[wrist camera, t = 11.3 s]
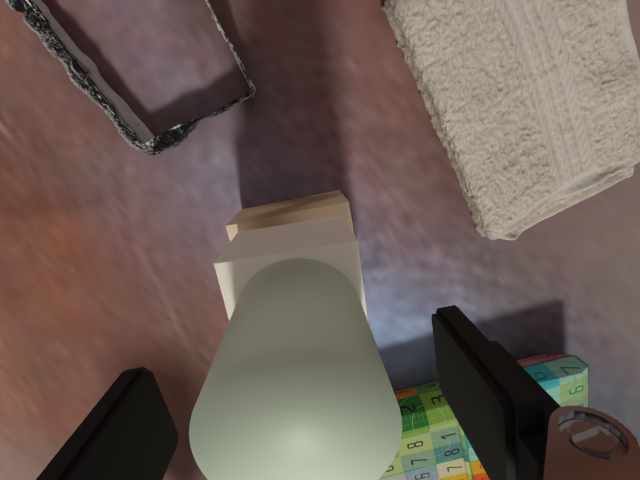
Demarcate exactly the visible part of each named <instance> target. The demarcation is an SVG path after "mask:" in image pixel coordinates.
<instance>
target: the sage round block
mask: <svg viewBox="0 0 640 480" xmlns="http://www.w3.org/2000/svg"><path fill="white" fill-rule="evenodd" d="M401 435H402V417H401V412H400V408H399V405H398V402H397V400H396V397H395V394H394V391H393V389H392V386H391V383H390V381H389V378H388V375H387V372H386V370H385V367H384V364H383V362H382V359H381V356H380V353H379V351H378V348H377V345H376V342H375V340H374V337H373V334H372V332H371V329H370V326H369V323H368V321H367V318H366V315H365V313H364V310H363V307H362V304H361V302H360V299H359V296H358V294H357V291H356V290H355V288H354V286H353V285H352V283H351V282H350V281H349V279H348V278H347V277H346V276H345V275H344V274H343V273H341V272H340V271H339V270H337V269H336V268H334V267H332V266H331V265H329V264H326V263H324V262H321V261H317V260H313V259H306V258H293V259H286V260H282V261H278V262H275V263H273V264H270V265H268V266H267V267H265V268H263V269H262V270H260V271H259V272H257V273H256V274H255V275H254V276H253V277H252V278H251V279H250V280H249V281H248V282H247V284H246V285H245V287H244V288H243V290H242V292H241V294H240V297H239V299H238V301H237V304H236V306H235V309H234V311H233V314H232V316H231V318H230V321H229V323H228V326H227V328H226V331H225V333H224V336H223V338H222V340H221V343H220V345H219V348H218V350H217V353H216V355H215V358H214V360H213V363H212V365H211V367H210V370H209V372H208V375H207V377H206V380H205V382H204V385H203V387H202V389H201V392H200V394H199V397H198V399H197V402H196V404H195V407H194V409H193V411H192V415H191V419H190V425H189V440H190V447H191V450H192V454H193V457H194V459H195V461H196V463H197V465H198V467H199V468H200V470H201V471H202V473H203V474H204V476H205V477H206V478H207V479H208V480H378V479H379V478H380V477H381V476H382V475H383V474H384V473H385V472H386V470H387V469H388V467H389V466H390V464H391V463H392V461H393V460H394V458H395V455H396V453H397V451H398V448H399V445H400V442H401Z"/></svg>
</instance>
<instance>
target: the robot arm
mask: <svg viewBox="0 0 640 480" xmlns="http://www.w3.org/2000/svg"><path fill="white" fill-rule="evenodd" d="M432 326H433V335H434V345H435V354H436V364H437V373H438V382H439V386H440V389H441V392H442V394H443V396H444V397H445V399H446V401H447V403H448V405H449V407H450V408H451V410H452V412H453V414H454V416H455V417H456V419H457V421H458V423H459V425H460V426H461V428H462V430H463V432H464V434H465V436H466V437H467V439H468V441H469V443H470V445H471V446H472V448H473V450H474V452H475V454H476V455H477V457H478V459H479V461H480V463H481V465H482V466H483V468H484V470H485V472H486V474H487V475H488V477H489V479H490V480H640V446H639V444H638V441H637V439H636V437H635V436H634V435H633V434H632V433H631V431H630V430H629V429H628V428H627V427H626V426H624V425H623V424H622V423H621V422H619V421H618V420H617V419H615V418H613V417H611V416H609V415H607V414H606V413H604V412H601V411H598V410H595V409H593V408H589V407H583V406H564V407H561V406H560V405H559V404H558V403H557V402H556V401H555V400H554V399H553V398H552V397H551V396H550V395H549V394H548V393H547V392H546V391H545V390H544V389H543V388H542V387H541V386H540V385H539V384H538V383H537V382H536V381H535V380H534V379H533V378H532V377H531V375H530V374H529V373H528V372H527V371H526V370H525V369H524V368H523V367H522V366H521V365H520V364H519V363H518V362H517V361H516V360H515V359H514V358H513V357H512V356H511V355H510V354H509V353H508V352H507V351H506V350H505V349H504V348H503V347H502V346H501V345H500V344H499V343H498V342H495V341H492V342H490V341H489V340H488V339H487V338H486V337H485V336H484V335H483V334H482V333H481V332H480V331H479V330H478V329H477V328H476V326H475V325H474V324H473V323H472V322H471V321H470V320H469V319H468V318H467V317H466V316H465V315H464V314H463V313H462V312H461V310H460V309H459V308H458V307H457V306H455V305H453V306H448V307H443V308H438V309H437V311H436V314H432ZM177 443H178V432H177V429H176V427H175V425H174V422H173V420H172V418H171V415H170V413H169V410H168V408H167V406H166V403H165V401H164V399H163V396H162V394H161V392H160V389H159V387H158V385H157V382H156V380H155V377H154V375H153V373H152V372H151V371H149V370H147V369H146V368H145V367H140V368H135V369H130V370H125V371H123V372H122V373H121V375H120V376H119V377H118V378H117V380H116V381H115V382H114V383H113V385H112V386H111V387H110V388H109V389H108V391H107V392H106V393H105V394H104V396H103V397H102V398H101V399H100V401H99V402H98V403H97V404H96V406H95V407H94V408H93V409H92V411H91V412H90V413H89V414H88V416H87V417H86V418H85V419H84V421H83V422H82V423H81V424H80V426H79V427H78V428H77V429H76V431H75V432H74V433H73V434H72V435H71V437H70V438H69V439H68V440H67V442H66V443H65V444H64V445H63V447H62V448H61V449H60V450H59V452H58V453H57V454H56V455H55V457H54V458H53V459H52V460H51V462H50V463H49V464H48V465H47V467H46V468H45V469H44V470H43V472H42V473H41V474H40V475H39V477H38V478H37V479H36V480H162V479H163V477H164V474H165V472H166V470H167V467H168V465H169V463H170V460H171V458H172V456H173V453H174V451H175V449H176V446H177Z"/></svg>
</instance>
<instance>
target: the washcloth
mask: <svg viewBox="0 0 640 480" xmlns="http://www.w3.org/2000/svg"><path fill="white" fill-rule="evenodd" d="M382 10H383V11H385V13H386V16H387V20H388V21H389V24H390V26H391V28H392V29H393V32H394V35H395V38H396V39H397V41H398V43H397V47H399V46H400V47H399V48H400V49H401V50H402V51H403V53H404V60H405V62H406V63H407V65H408V66H409V68H410V71H411V72H412V75H413V78H414V79H415V81H416V83H417V87H418V88H417V89H418V90H419V91H420V92H421V93H420V96H421V97H422V99H423V102H424V107H425V109H426V110H427V111H428V112H429V115H430V121H431V123H432V124H433V128H435V130H436V132H437V135H438V136H439V138H440V141H441V143H442V144H443V146H444V147H445V148H446V151H447V156H448V158H449V160H450V164H451V166H452V167H453V169H454V170H455V172H456V175H457V178H458V180H459V185H460V187H461V188H462V190H463V195H464V197H465V200H466V201H467V205H468V206H469V210H470V211H471V214H472V216H471V217H472V218H473V220H474V222H475V227H476V229H477V231H478V232H479V234H480V235H481V236H487V237H488V239H490V240H494V239H499V238H500V239H505V240H515V239H517V237H518V236H519V235H520V234H521V233H522V232H523V231H524V230H526V229H528V228H530V227H531V226H533V225H535V224H536V223H538V222H540V221H542V220H544V219H546V218H548V217H550V216H553V215H555V214H557V213H558V212H561V211H562V210H564V209H566V208H568V207H570V206H572V205H574V204H577V203H578V202H580V201H582V200H584V199H586V198H589V197H591V196H593V195H595V194H597V193H599V192H601V191H603V190H605V189H606V188H608V187H610V186H612V185H613V184H616V183H618V182H619V181H622V180H623V179H625V178H628V177H631V176H632V175H633V173H634V166H633V165H634V164H636V163H638V162H639V161H640V59H639V57H638V53H637V48H636V45H635V42H634V38H633V36H632V31H631V26H630V21H629V15H628V8H627V3H626V0H385V3H384V7H383V8H382Z"/></svg>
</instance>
